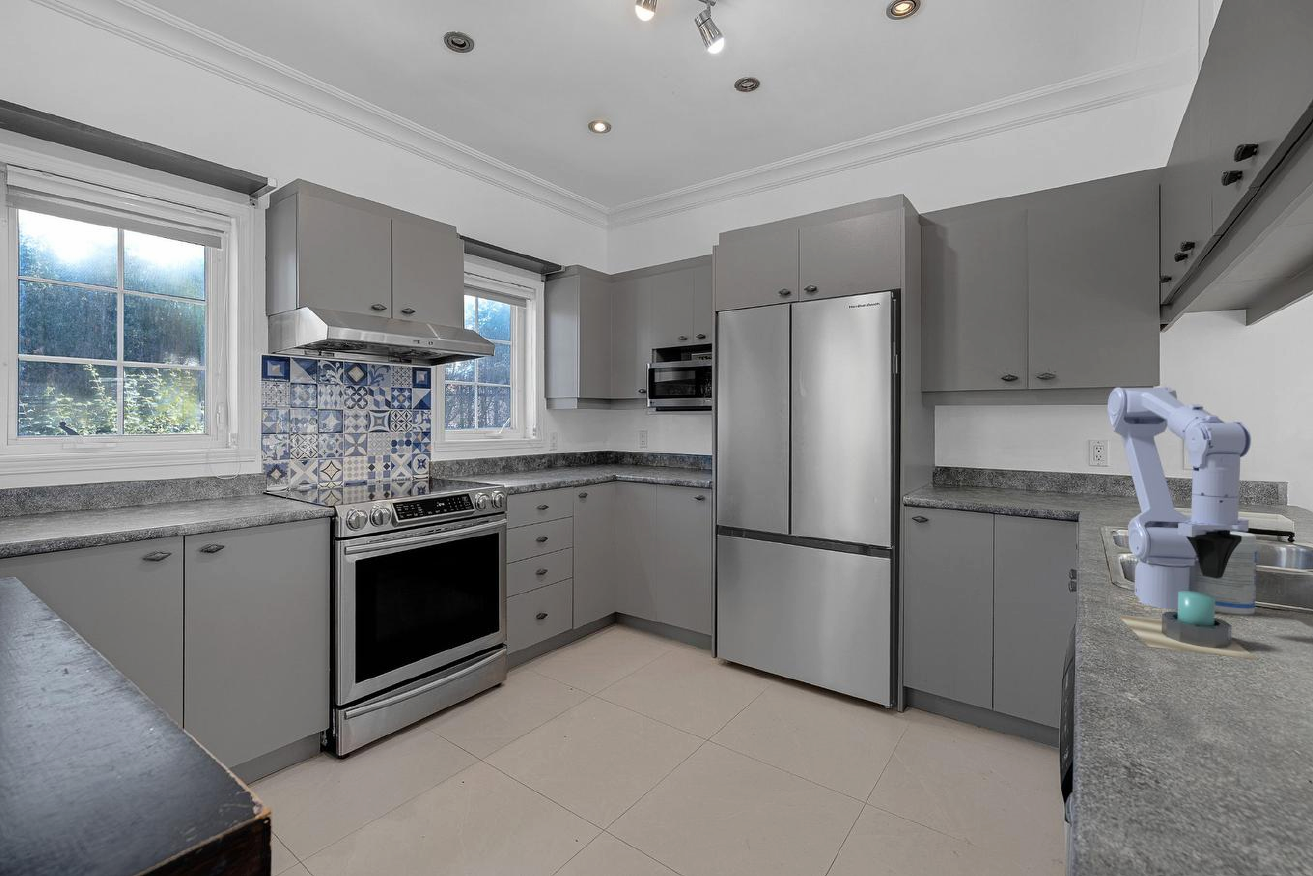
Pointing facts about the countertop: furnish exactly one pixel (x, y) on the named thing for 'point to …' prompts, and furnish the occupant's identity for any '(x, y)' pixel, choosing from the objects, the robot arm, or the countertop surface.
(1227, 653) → the pale board
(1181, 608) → the teal plug
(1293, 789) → the countertop surface
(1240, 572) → the supplement tub
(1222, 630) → the grey faceted ring
